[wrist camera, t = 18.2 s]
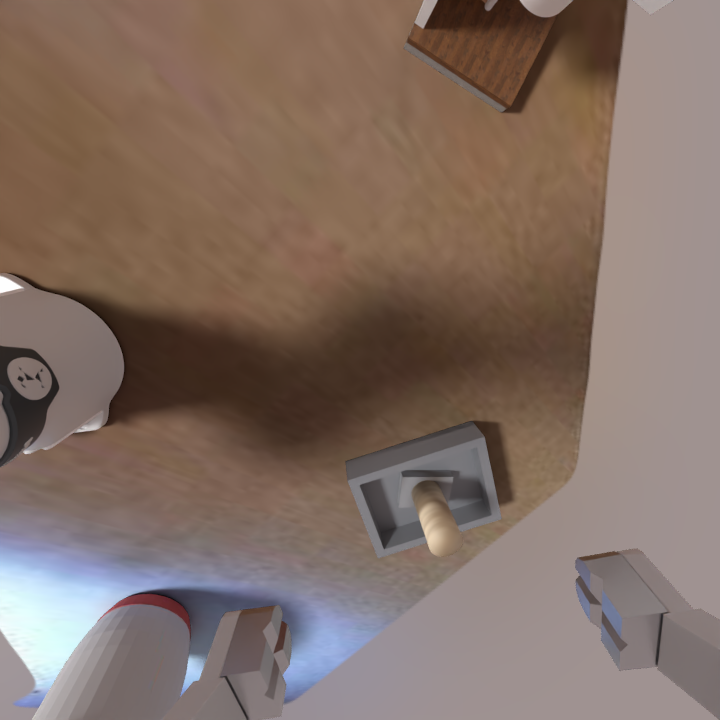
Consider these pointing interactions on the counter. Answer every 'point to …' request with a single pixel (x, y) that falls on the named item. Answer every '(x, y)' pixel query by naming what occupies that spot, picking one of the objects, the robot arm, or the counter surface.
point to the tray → (431, 452)
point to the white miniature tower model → (488, 41)
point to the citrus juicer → (124, 664)
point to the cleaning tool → (431, 507)
